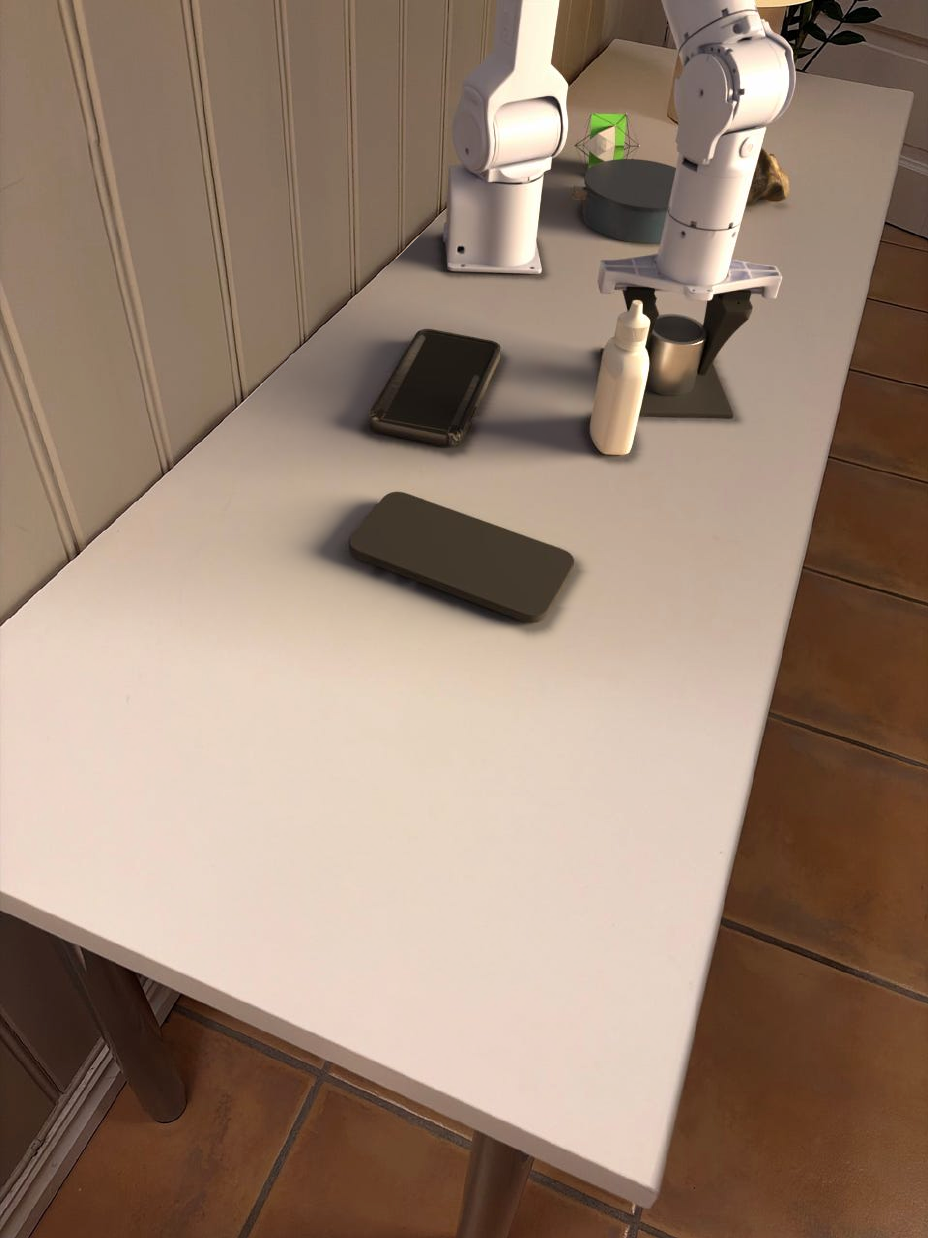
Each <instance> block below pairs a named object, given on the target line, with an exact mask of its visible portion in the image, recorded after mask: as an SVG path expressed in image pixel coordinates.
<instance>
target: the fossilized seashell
mask: <svg viewBox="0 0 928 1238" xmlns="http://www.w3.org/2000/svg"><path fill="white" fill-rule="evenodd" d="M789 195H790V181H789V177H788V175H787V173H786V172H785V171H784V169H783V168H782V166H781V165H780V164H779V163H778V162H777V157H776V155H775V153H769V152H768V151H766V149H764V148H763V147H762V146H761V149H760V153H759V157H758V160H757V164H756V168H755V171H754V175H753V179H752V183H751V186H750V190H749V194H748V198H747V202H746V205H745V208H746V207H748V206H751V205H752V204H755V202H756V201H757V200H758V199H759V200H764V201H768V202H773V203H774V202H781V201H784V200H786V199H787V198H788V196H789Z"/></svg>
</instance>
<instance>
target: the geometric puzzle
mask: <svg viewBox="0 0 928 1238" xmlns="http://www.w3.org/2000/svg"><path fill="white" fill-rule="evenodd" d="M628 118H629V117H628V113H607V112H605V113H604V112H603V113H601V112H591V113H590V115H589V117H588V119H587V122H586V124H585V125H584V127H586V125H587V128H586V132H585V135H584V138H583V139H582V140H580V141H578V142H576V143H575V144H573V145H574V147H575V149H576V150H580V151H581V152H582V153H583V156H584V158H586V156H587V157H588V164H587V163H586V161H587V160H586V159H584V162H585V164H587V165H588V166H585V167H583V168H584V170H585V171H587V170H588V169H589V168H590V167H592V166H594V165H596V164H598V163H601V162H605V161H609V160H617V159H628V156H629V154H631V153H632V152H634V151H635V150H636V151H638V149H639V148H640V147H641V145H640V143H639V142H638V139H637V137H636V136H637V135H634V136H635V139H636V141H635V140H634V139H632V137H630V132H629V131H630V130H627V134H626V127H627V128H629V124H628V123H631V120H628V121H627V119H628ZM587 123H588V124H587ZM589 125H590V132H589V134H588V135H587V132H588V129H589ZM630 126H631V128H633V127H632V125H630ZM632 131H633V133H635V132H634V130H632ZM626 136H627V137H628V142H629V143H627V142H626V141H625V139H626ZM588 137H589V139H588V140H587V141H586V142H585V140H586V139H587V138H588ZM630 139H631V140H632V141H633V142H634V143H635V144H636V145H631V141H630ZM581 142H582V144H581V146H582V149H583V150H582V149H581V148H580V147H579V146H580V143H581ZM625 145H626V147H625ZM631 147H632V148H633V147H634V149H633V150H631V151H630V148H631ZM585 149H587V151H588V154H587V153H586V152H585ZM627 149H628V151H627V154H625V155H624V153H625V152H624V151H625V150H627ZM577 154H578V155H580V153H579V152H578V153H577ZM585 155H586V156H585ZM635 155H636V153H634V154H633V156H632V158H634V157H635ZM579 159H580V160H582V158H581V157H579ZM581 163H582V165H584V164H583V162H581ZM585 168H586V169H585Z"/></svg>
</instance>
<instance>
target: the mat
mask: <svg viewBox="0 0 928 1238" xmlns="http://www.w3.org/2000/svg"><path fill="white" fill-rule="evenodd" d="M604 348H605V347H601V348H600V356H601V357H602V356H603V352H604ZM714 365H715V364H714V362H713V363H712V364H711V366H710V368H709V370H708V372H707V374H706V375H698V373H697V375H696V379H695V383H694V386H693V388H692V389H691V391H689V392H688V393H686V394H683V395H678V396H665V395H660V394H656V393H653V392H651V391H649V390H647V389H646V388H645V389H644V394H643V399H642V403H641V408H640V412H639V417H660V418H661V417H666V418H668V417H669V418H708V419H709V418H712V419H714V418H716V419H733V417H734V411H733V409H732V407H731V405H730V401H729V399H728V397H727V395H726V392H725V390H724V388H723V385H722V382H721V379H720V376H719V375H718V372H717V370H716V367H715V366H714Z"/></svg>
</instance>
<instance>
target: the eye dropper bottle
mask: <svg viewBox="0 0 928 1238" xmlns="http://www.w3.org/2000/svg"><path fill="white" fill-rule="evenodd" d="M649 326H650V320H649V318H648V317H647V316H645V315H644V314H642V302H641V301H640V300H634V301H633V303H632V305H631V307H630V310H629V312H628V311H625V312H622V313H620V314H619V315H618V316H617V320H616V325H615V331H614V336H612V337H611V338H609V339H608V340H607V342H606V343H605V345H604V347H603V348H604V352H603V356H601V361H600V368H599V373H598V379H597V383H596V390H595V395H594V401H593V407H592V412H591V416H590V423H589V435H590V437H591V441H592V442H593V444H594V445H595V447H596V449H597V450H598V451H599V452H600V453H601V454H603V455H613V456H615V455H616V456H617V455H618V456H622V455H623V456H624V455H628V454H629V453H630V452H631V449H632V446H633V444H634V439H635V434H636V430H637V425H638V420H639V417H640V416H639V412H640V408H641V403H642V399H643V394H644V389H645V385H646V380H647V375H648V370H649V357H648V353H647V350H646V348H645V344H646V340H647V335H648V331H649Z"/></svg>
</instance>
